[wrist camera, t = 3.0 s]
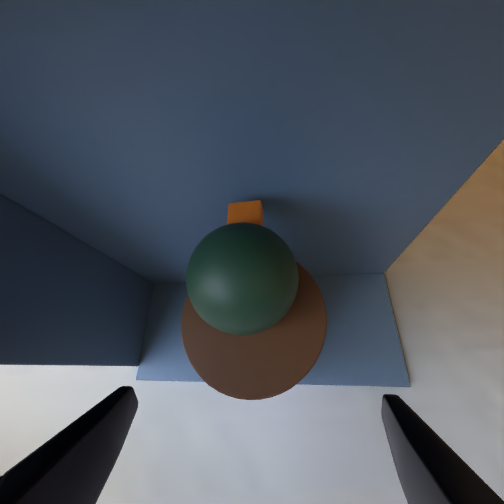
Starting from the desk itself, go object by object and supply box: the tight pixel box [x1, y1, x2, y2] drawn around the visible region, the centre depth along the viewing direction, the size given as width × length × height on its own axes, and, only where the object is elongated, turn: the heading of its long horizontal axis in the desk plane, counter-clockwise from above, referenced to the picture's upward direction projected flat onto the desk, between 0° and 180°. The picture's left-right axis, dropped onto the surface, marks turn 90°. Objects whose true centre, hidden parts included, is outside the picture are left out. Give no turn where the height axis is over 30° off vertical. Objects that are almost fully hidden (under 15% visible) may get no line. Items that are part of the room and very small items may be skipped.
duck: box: [181, 200, 327, 400], centre depth 13 cm, size 7×6×14 cm
